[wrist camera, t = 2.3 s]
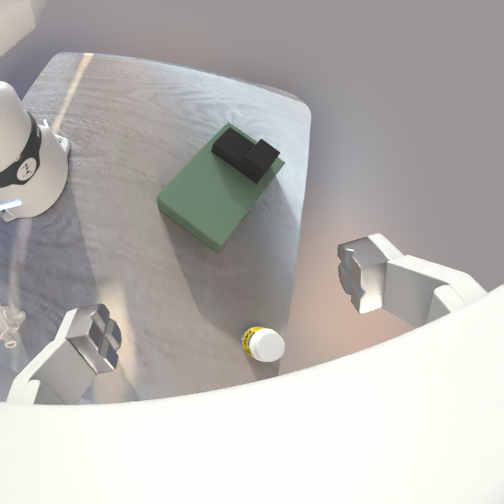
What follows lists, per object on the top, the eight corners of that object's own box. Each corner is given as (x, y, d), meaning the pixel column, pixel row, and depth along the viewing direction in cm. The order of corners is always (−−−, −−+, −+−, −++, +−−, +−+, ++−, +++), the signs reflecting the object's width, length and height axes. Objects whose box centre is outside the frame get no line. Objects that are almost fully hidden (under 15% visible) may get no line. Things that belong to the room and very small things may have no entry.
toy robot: (25, 348, 35) (-12, 356, 24) (5, 308, 35) (-34, 305, 24) (40, 336, 36) (3, 342, 25) (19, 296, 36) (-20, 290, 25)
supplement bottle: (240, 325, 45) (254, 328, 37) (269, 326, 46) (288, 329, 38) (239, 355, 44) (253, 364, 36) (268, 355, 45) (287, 364, 37)
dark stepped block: (210, 151, 44) (214, 135, 40) (227, 134, 46) (232, 118, 41) (256, 184, 45) (264, 171, 41) (271, 166, 46) (280, 152, 42)
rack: (158, 208, 46) (156, 197, 41) (223, 137, 51) (228, 121, 46) (216, 252, 47) (221, 246, 42) (275, 175, 52) (285, 162, 47)
